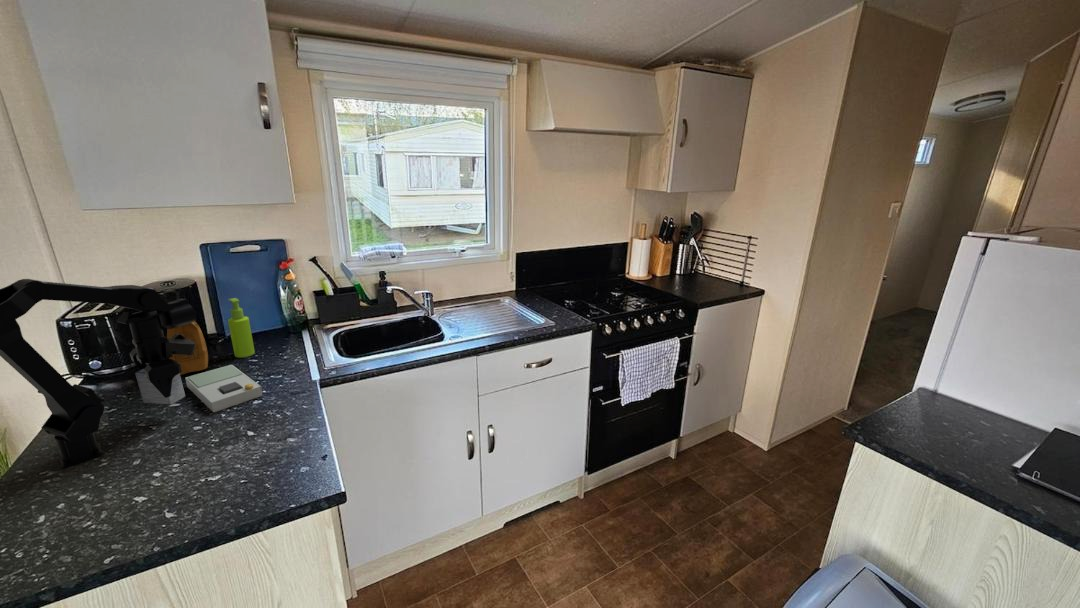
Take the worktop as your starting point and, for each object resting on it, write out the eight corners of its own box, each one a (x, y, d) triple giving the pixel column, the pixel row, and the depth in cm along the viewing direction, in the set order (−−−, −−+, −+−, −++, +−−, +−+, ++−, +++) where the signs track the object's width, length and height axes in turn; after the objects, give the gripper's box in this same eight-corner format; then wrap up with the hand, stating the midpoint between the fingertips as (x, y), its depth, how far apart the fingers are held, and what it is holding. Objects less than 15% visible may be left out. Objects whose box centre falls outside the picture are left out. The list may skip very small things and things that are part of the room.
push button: (242, 396, 124) (240, 386, 123) (226, 401, 121) (224, 391, 120) (237, 391, 126) (235, 381, 125) (221, 396, 123) (219, 386, 122)
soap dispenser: (250, 348, 156) (240, 295, 151) (257, 353, 152) (247, 299, 146) (231, 353, 152) (220, 299, 146) (238, 359, 148) (227, 303, 142)
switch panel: (262, 395, 125) (260, 383, 124) (213, 412, 116) (210, 399, 115) (233, 373, 138) (231, 362, 137) (187, 386, 129) (184, 375, 128)
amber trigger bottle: (212, 357, 148) (199, 296, 142) (210, 371, 138) (196, 306, 132) (175, 363, 143) (159, 300, 137) (170, 378, 133) (153, 311, 127)
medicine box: (186, 396, 115) (179, 367, 112) (170, 405, 110) (163, 374, 108) (159, 394, 115) (151, 365, 113) (142, 403, 111) (134, 372, 109)
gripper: (200, 335, 108) (212, 391, 113) (177, 318, 119) (188, 370, 124) (141, 348, 100) (157, 408, 104) (122, 329, 111) (137, 384, 115)
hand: (162, 391), depth 112 cm, fingers closed on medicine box, 9 cm apart
